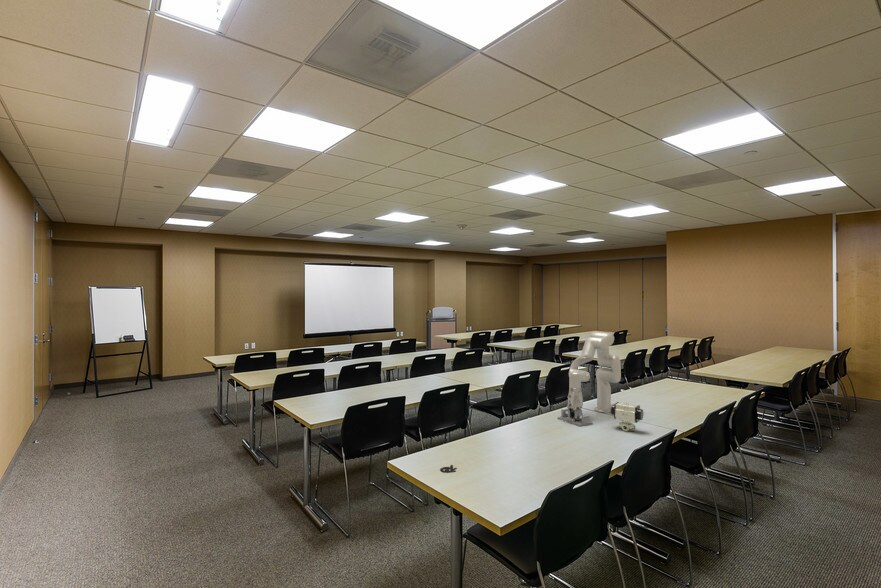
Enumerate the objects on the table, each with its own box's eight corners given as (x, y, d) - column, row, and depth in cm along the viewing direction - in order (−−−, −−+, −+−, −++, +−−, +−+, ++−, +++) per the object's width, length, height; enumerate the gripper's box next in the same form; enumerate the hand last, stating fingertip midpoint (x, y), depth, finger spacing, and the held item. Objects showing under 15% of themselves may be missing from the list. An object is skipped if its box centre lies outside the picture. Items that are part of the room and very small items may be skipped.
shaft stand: (557, 418, 292) (557, 410, 292) (570, 416, 298) (570, 407, 298) (580, 426, 275) (580, 417, 275) (592, 424, 281) (592, 415, 281)
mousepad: (449, 465, 212) (449, 464, 212) (461, 469, 207) (461, 468, 207) (437, 471, 205) (437, 469, 205) (450, 475, 200) (450, 474, 200)
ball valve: (609, 428, 271) (610, 401, 271) (614, 425, 278) (614, 398, 278) (639, 434, 260) (640, 406, 260) (643, 431, 266) (643, 403, 266)
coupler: (582, 418, 284) (582, 409, 284) (576, 419, 282) (576, 410, 282) (573, 415, 291) (573, 407, 291) (567, 416, 289) (567, 408, 289)
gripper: (570, 392, 279) (570, 419, 279) (588, 389, 288) (588, 416, 288) (561, 390, 286) (561, 417, 286) (579, 387, 294) (579, 413, 294)
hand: (574, 416), depth 287 cm, fingers closed on coupler, 5 cm apart
